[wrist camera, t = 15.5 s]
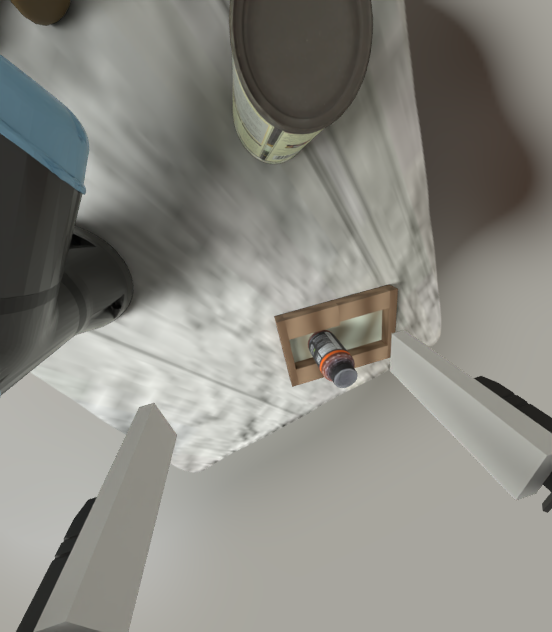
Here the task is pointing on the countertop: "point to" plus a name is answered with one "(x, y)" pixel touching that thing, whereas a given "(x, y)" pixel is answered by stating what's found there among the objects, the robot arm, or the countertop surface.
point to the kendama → (42, 10)
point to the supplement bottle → (332, 358)
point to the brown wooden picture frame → (340, 330)
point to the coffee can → (295, 69)
